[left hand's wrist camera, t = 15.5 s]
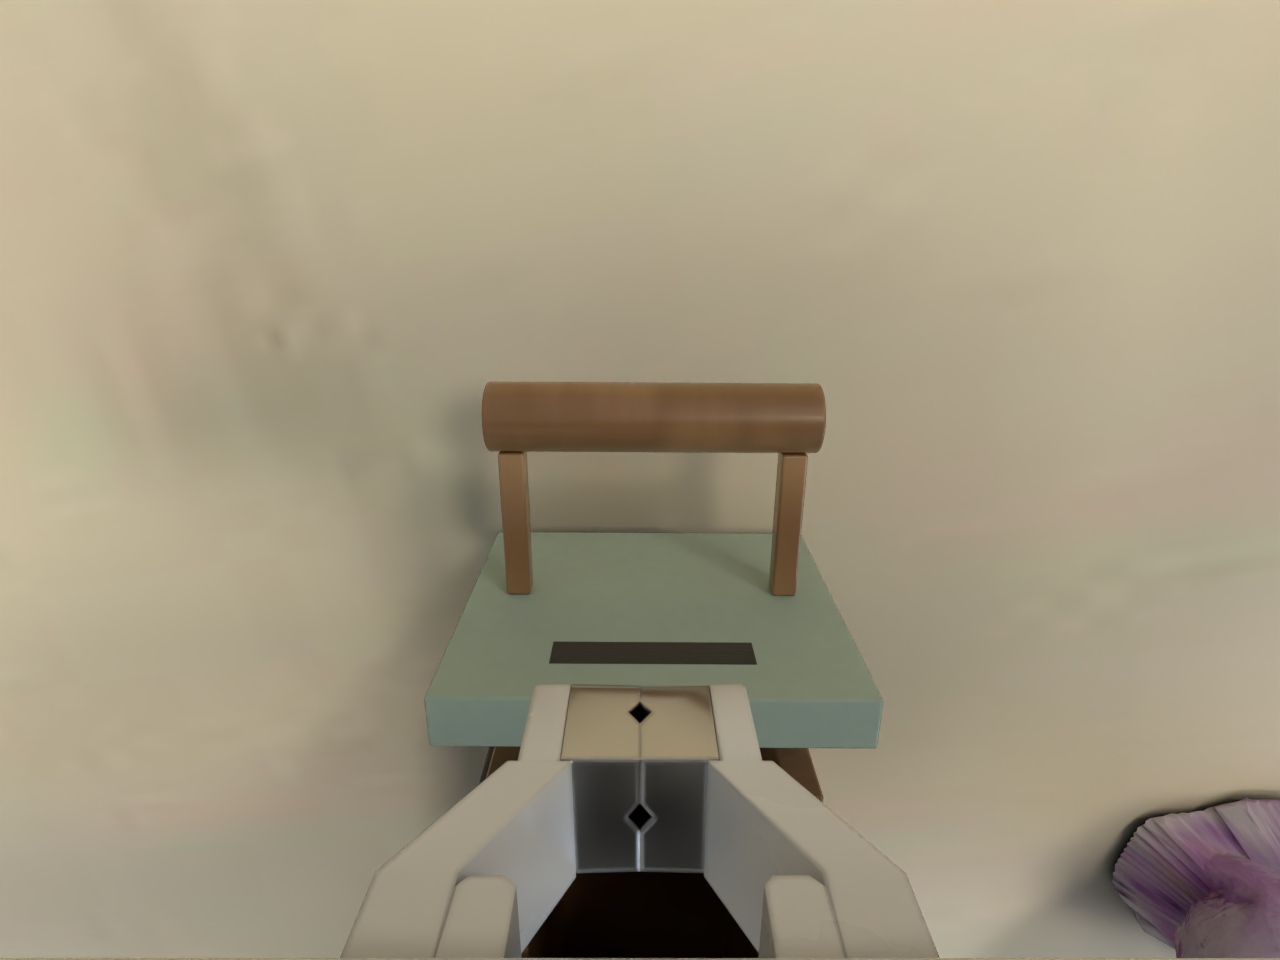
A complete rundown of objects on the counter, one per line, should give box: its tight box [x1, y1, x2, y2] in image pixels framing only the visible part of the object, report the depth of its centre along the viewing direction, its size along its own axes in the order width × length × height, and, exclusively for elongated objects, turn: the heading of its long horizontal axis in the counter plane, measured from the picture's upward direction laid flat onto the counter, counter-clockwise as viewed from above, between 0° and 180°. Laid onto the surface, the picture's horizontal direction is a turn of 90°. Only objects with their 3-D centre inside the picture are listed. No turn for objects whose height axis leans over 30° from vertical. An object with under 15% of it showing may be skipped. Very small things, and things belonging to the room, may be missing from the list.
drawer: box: [424, 382, 883, 958], centre depth 20 cm, size 24×9×8 cm, turn 0°
